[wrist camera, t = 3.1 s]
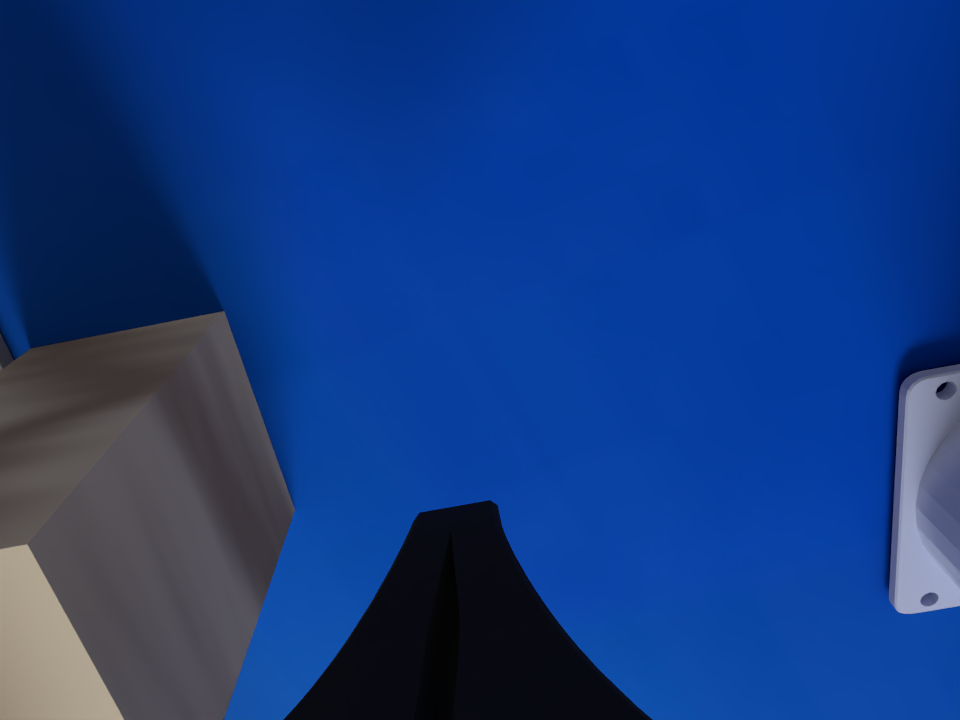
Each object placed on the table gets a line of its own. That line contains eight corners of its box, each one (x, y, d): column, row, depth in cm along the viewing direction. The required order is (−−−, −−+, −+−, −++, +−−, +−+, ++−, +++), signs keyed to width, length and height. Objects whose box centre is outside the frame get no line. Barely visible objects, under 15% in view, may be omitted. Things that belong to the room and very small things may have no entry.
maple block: (224, 311, 18) (27, 544, 10) (295, 509, 20) (185, 830, 12) (30, 348, 18) (-323, 606, 10) (123, 540, 21) (-99, 875, 12)
